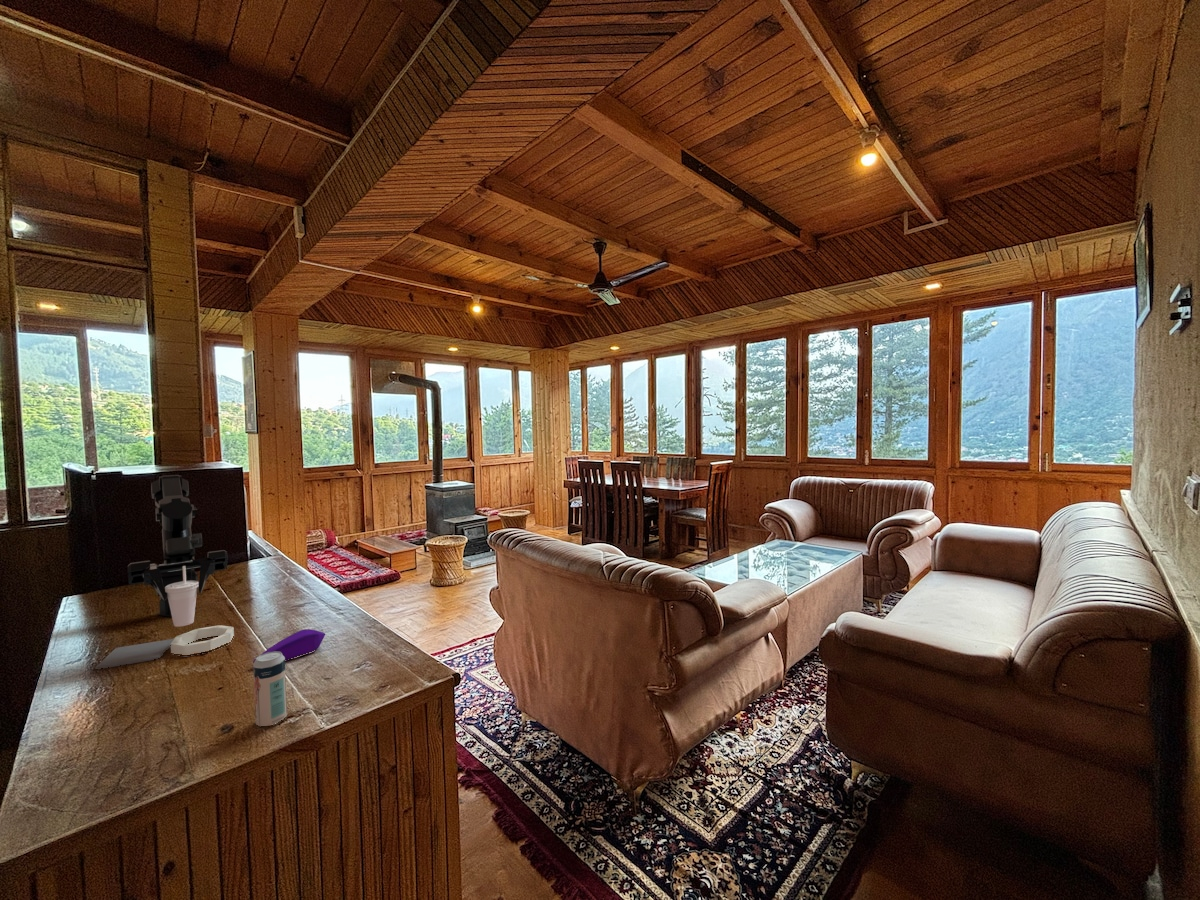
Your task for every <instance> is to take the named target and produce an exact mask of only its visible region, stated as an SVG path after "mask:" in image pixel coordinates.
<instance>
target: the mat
mask: <svg viewBox="0 0 1200 900" xmlns="http://www.w3.org/2000/svg"><path fill="white" fill-rule="evenodd" d="M174 639H175V638H169V639H163V640H158V641H150V642H144V643H137V644H132V645H125V646H120V647H119V646H118V647H115V648H114V649H113V650H112V651H111V652H110V653H109V654H108V655H107V656H106V657H104V659H103V660H100V662H99V663H98V664H97V665H96V666H95V667H94V668H95V669H98V670H102V669H101V668H103V669H109V668H115V667H120V665H121V666H126V664H127V665H131V664H136V663H137V664H138V663H143V662H149V661H150V662H151V661H155V660H154V659H156V660H159V659H158V658H160V657H161V656H162V657H163V655H164V654H165V653H166V652H167V651H168V650H169V649H170V648H171V646H170V645H171V643H172V641H173V640H174ZM166 650H167V651H166ZM165 651H166V652H165ZM164 652H165V653H164ZM163 653H164V654H163ZM162 657H161V658H162ZM161 658H160V659H161ZM108 667H109V668H108Z"/></svg>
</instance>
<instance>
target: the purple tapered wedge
mask: <svg viewBox="0 0 1200 900" xmlns="http://www.w3.org/2000/svg"><path fill="white" fill-rule="evenodd" d="M325 637H326V633H325V632H322V631H320V630H315V629H309V628H308V629H306V628H305V629H301V630H299V631H297V632H295V633H293V634H291V635H289V636H287V637H285V638H283V639H282V640H280V641H278V642H277V643H274V645H271V646H270V647H269V648H268V649H266V650H264V652H262V653H260V654H259V655H258V656H260V655H262V654H265V653H268V652H274V651H277V652H281V653H282V655H283V656H284V657H285V660H288V659H291V658H294V657H297V656H300V655H303V654H306V653H309V652H312V651H314V650H316V649H317V650H318V649H319V647H320V646H321V644H322V642H323V640H324V638H325ZM317 650H316V651H317ZM255 660H256V658H255V659H253V661H252V664H254V662H255Z"/></svg>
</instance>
